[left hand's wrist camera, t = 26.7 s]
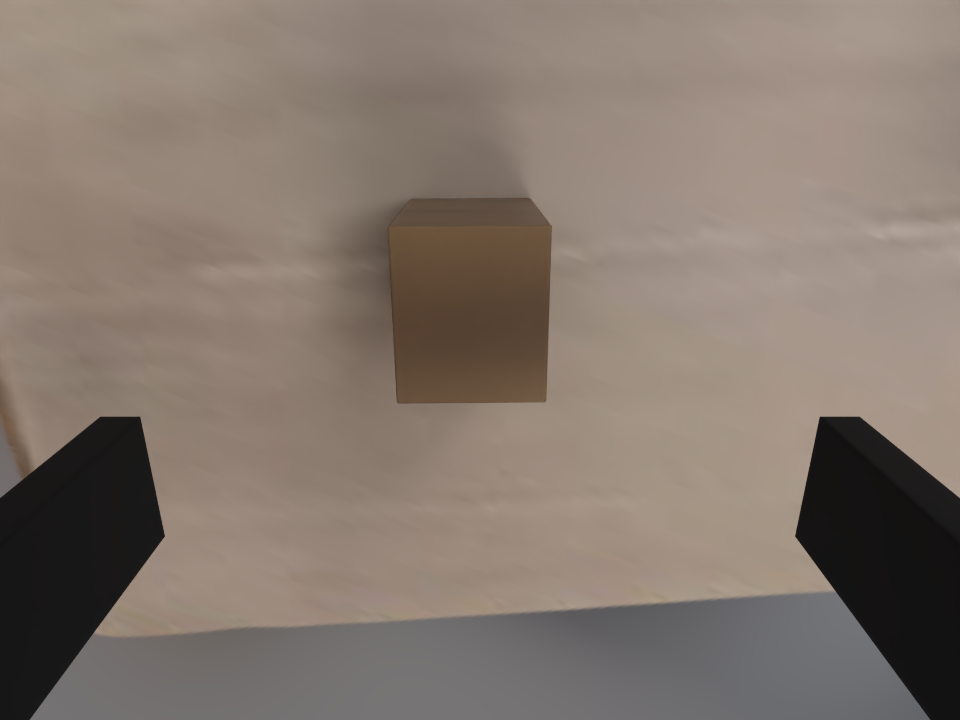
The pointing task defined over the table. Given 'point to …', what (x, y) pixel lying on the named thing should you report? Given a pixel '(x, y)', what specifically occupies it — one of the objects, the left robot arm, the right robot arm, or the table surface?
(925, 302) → the table surface
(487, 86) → the table surface
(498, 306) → the brick
